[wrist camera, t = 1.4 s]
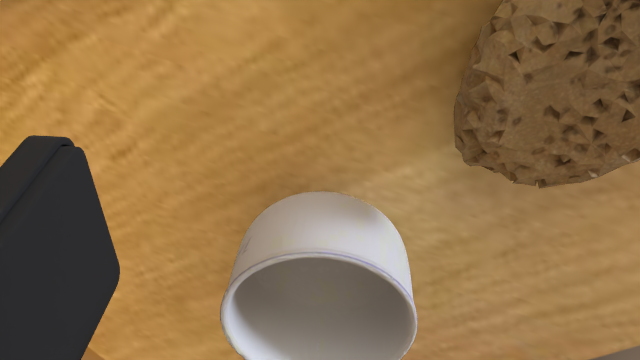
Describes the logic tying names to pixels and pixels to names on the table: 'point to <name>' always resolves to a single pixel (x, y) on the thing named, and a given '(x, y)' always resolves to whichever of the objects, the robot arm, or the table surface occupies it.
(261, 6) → the table surface
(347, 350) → the teacup
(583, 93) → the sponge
